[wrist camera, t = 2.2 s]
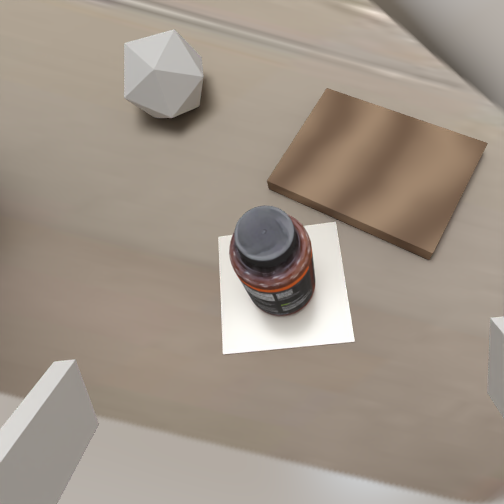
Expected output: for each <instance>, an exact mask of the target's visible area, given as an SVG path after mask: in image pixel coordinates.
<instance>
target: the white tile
mask: <svg viewBox="0 0 504 504" xmlns="http://www.w3.org/2000/svg"><path fill="white" fill-rule="evenodd" d="M303 227H304V228H305V229H306V231H307V233H308V235H309V238H310V241H311V246H312V253H313V262H314V271H315V289H314V293H313V296H312V298H311V300H310V301H309V303H308V304H307V305H306V306H305V307H304V308H303V309H301V310H300V311H298V312H296V313H294V314H291V315H287V316H274V315H270V314H267V313H265V312H264V311H262V310H261V309H259V308H258V307H257V306H256V305H255V304H254V303H253V301H252V300H251V298H250V296H249V294H248V293H247V291H246V290H245V288H244V286H243V285H242V283H241V281H240V280H239V278H238V276H237V275H236V273H235V271H234V269H233V267H232V264H231V261H230V257H229V246H230V241H231V238H232V236H233V235H229V236H221V237H218V240H219V265H220V290H221V315H222V340H223V354H233V353H244V352H254V351H265V350H275V349H285V348H296V347H306V346H317V345H327V344H337V343H348V342H355V340H354V334H353V328H352V321H351V315H350V309H349V302H348V296H347V290H346V283H345V277H344V270H343V264H342V258H341V251H340V245H339V239H338V232H337V226H336V222H331V223H323V224H315V225H307V226H303Z"/></svg>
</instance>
